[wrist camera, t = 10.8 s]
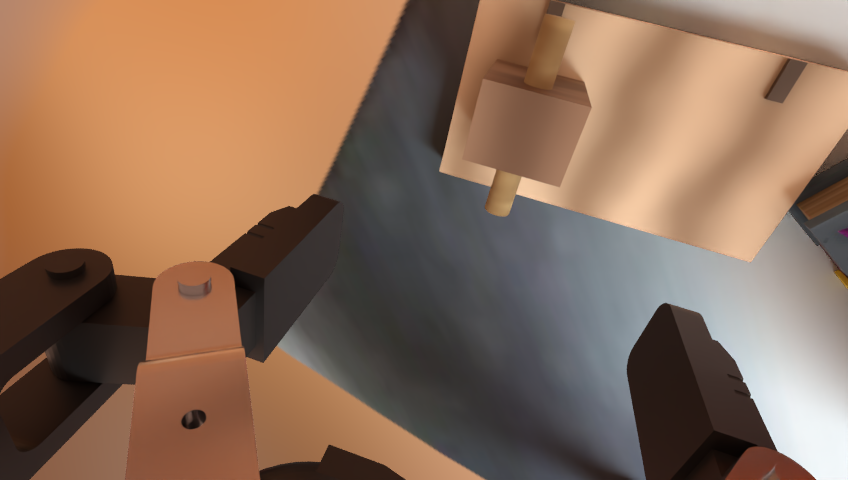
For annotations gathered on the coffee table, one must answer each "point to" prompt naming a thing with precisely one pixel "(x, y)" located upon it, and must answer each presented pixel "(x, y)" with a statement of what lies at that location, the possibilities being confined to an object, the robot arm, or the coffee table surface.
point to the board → (667, 124)
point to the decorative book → (827, 214)
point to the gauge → (528, 118)
